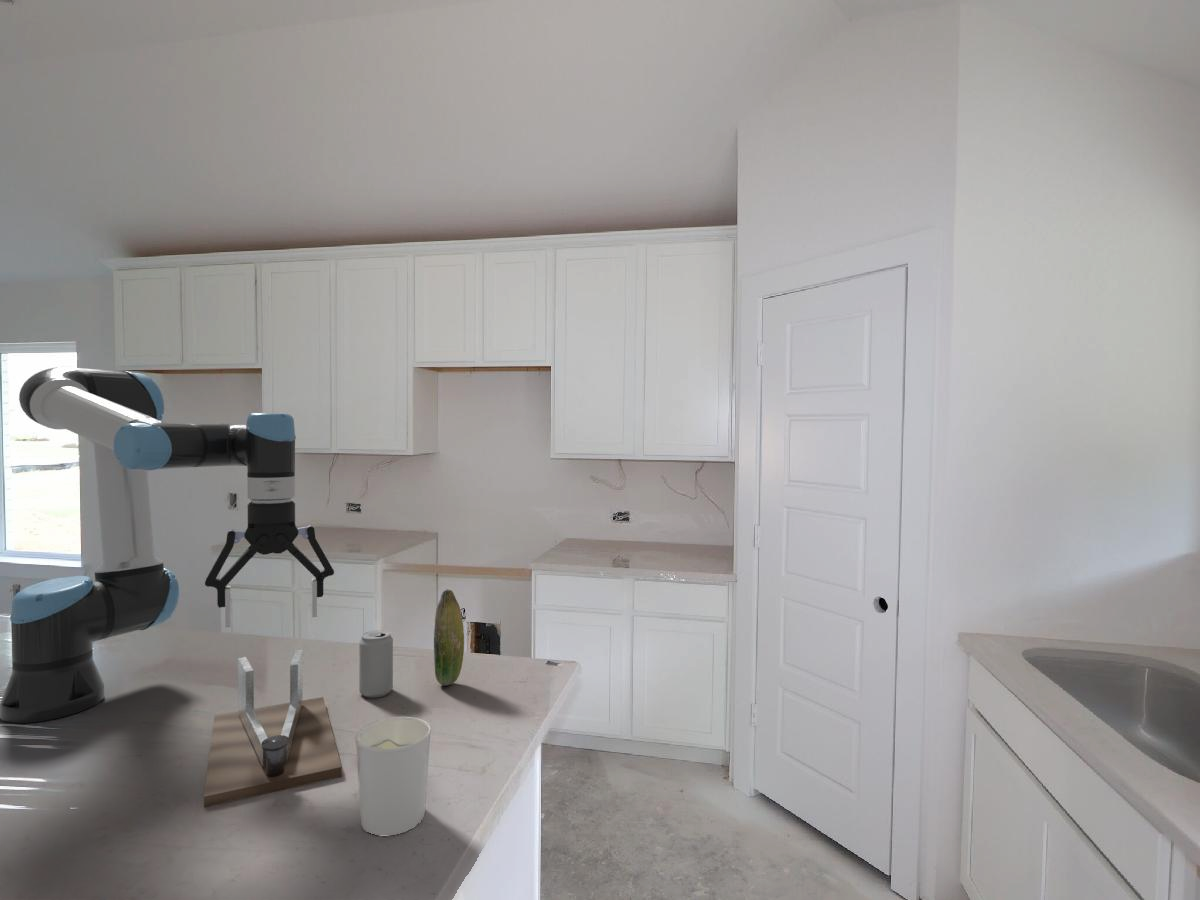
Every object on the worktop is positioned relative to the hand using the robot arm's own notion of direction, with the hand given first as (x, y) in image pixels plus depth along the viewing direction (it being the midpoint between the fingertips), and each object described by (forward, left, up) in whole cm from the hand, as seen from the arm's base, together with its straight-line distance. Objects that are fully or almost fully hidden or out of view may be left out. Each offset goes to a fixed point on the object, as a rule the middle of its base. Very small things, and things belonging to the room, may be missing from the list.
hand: (272, 620), depth 115 cm
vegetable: (-4, +33, -19) cm, 38 cm away
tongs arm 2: (+8, +3, -17) cm, 19 cm away
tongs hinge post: (+21, 0, -18) cm, 27 cm away
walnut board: (+9, 0, -19) cm, 21 cm away
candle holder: (+38, +14, -19) cm, 45 cm away
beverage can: (-7, +19, -19) cm, 28 cm away
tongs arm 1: (+8, -3, -17) cm, 19 cm away
